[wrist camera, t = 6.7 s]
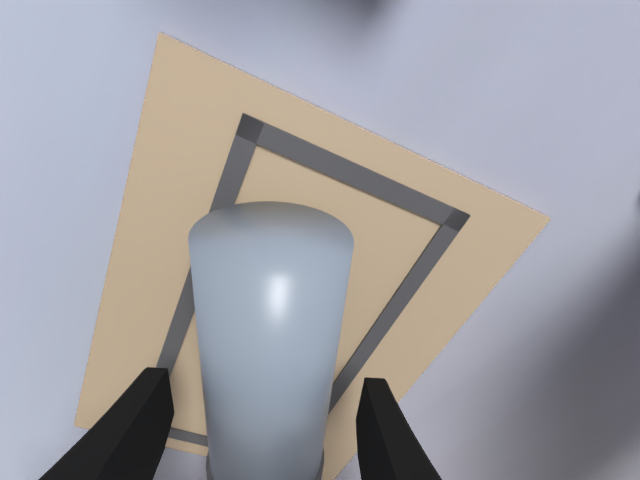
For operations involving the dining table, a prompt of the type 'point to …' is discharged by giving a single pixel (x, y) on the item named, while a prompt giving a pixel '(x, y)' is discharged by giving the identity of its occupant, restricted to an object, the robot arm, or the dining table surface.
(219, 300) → the squeeze tube
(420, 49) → the dining table surface
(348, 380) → the tan rectangular board
